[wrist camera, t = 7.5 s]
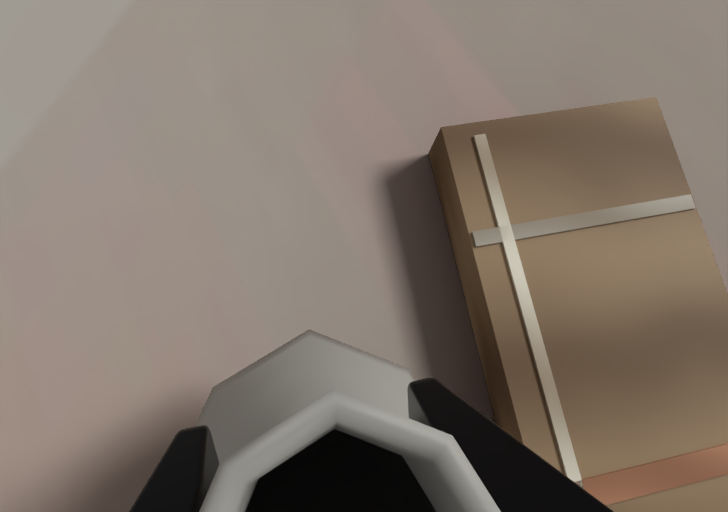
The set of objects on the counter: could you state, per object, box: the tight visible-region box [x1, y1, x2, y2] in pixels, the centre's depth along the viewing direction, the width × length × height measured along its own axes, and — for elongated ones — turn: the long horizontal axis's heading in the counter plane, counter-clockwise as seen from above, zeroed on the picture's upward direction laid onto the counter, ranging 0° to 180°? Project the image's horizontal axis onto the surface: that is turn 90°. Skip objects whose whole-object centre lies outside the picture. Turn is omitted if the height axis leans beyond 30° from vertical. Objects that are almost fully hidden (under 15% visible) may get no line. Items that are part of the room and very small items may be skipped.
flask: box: [195, 330, 501, 512], centre depth 10 cm, size 7×7×10 cm
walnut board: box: [429, 97, 728, 512], centre depth 19 cm, size 18×8×2 cm, turn 12°
